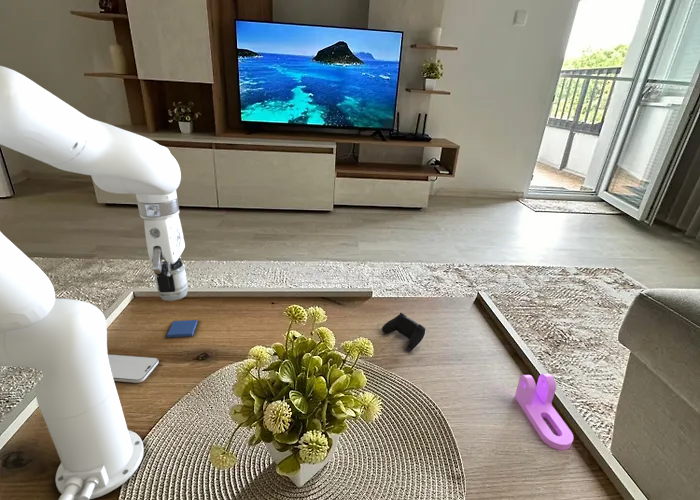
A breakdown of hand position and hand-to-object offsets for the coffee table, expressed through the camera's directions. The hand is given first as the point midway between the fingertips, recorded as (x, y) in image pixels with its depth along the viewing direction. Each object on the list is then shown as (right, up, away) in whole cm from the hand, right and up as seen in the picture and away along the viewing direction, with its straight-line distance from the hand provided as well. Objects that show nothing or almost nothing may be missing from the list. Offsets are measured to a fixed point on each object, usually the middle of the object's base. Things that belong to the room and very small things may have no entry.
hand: (172, 283), depth 89 cm
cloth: (-3, -13, +13) cm, 18 cm away
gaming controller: (+54, -15, +12) cm, 57 cm away
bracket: (+78, -26, -11) cm, 83 cm away
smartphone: (-11, -19, -1) cm, 22 cm away
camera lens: (0, -3, +1) cm, 3 cm away
